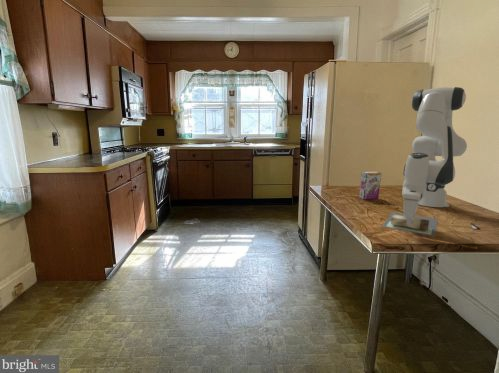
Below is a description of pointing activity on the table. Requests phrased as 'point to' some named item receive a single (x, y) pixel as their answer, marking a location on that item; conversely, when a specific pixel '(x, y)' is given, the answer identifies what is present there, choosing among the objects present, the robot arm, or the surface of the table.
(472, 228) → the chocolate bar
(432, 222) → the rubber mat
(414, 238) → the table surface
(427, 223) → the beige rectangular block
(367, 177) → the candy bar box
